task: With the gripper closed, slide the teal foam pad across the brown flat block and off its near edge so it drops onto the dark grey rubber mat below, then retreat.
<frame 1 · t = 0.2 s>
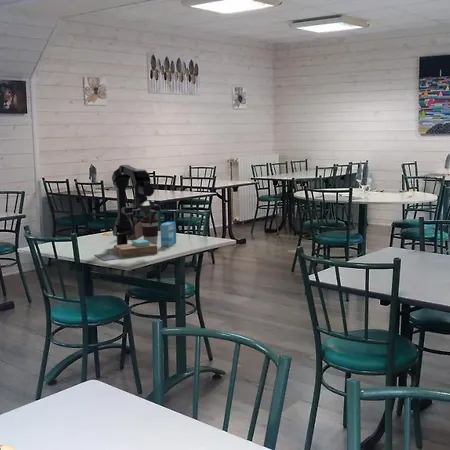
hand: (141, 226, 299), 14 cm above the table, tool pointing down, fingers open, 9 cm apart
letter holder: (132, 237, 354), on the table
brown flat block: (135, 253, 304), on the table
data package: (168, 245, 325), on the table
coffee cup: (150, 243, 332), on the table
mat: (108, 256, 298), on the table
teal foam pad: (140, 244, 305), point 4 cm above the table, touching brown flat block
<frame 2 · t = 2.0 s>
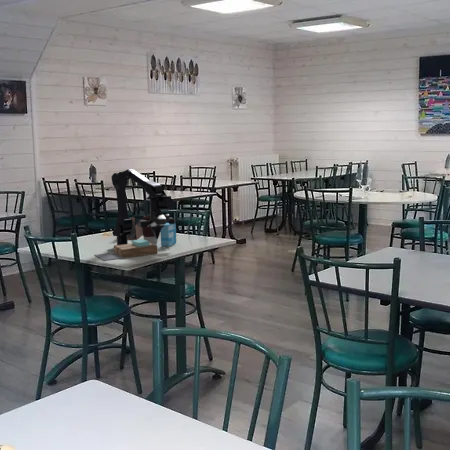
hand: (157, 238, 309), 6 cm above the table, tool pointing down, fingers closed
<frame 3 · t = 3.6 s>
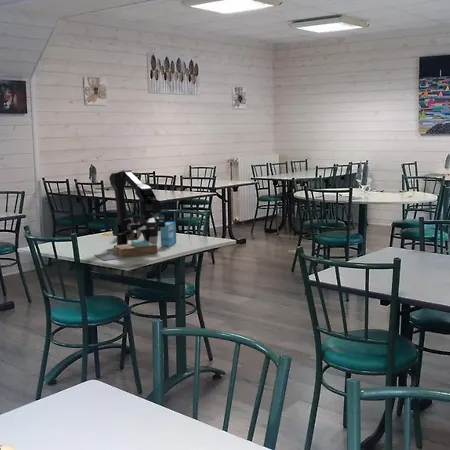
hand: (147, 242, 307), 5 cm above the table, tool pointing down, fingers closed
teal foam pad: (140, 245, 305), point 4 cm above the table, touching brown flat block, gripper
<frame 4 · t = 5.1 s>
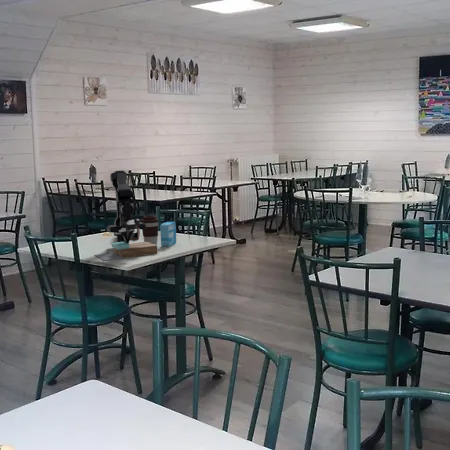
hand: (127, 244, 302), 5 cm above the table, tool pointing down, fingers closed
teal foam pad: (120, 247, 300), point 4 cm above the table, touching gripper
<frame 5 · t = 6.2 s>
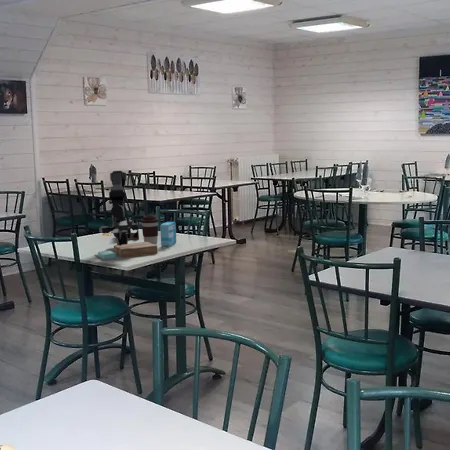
hand: (120, 245, 300), 5 cm above the table, tool pointing down, fingers closed
teal foam pad: (106, 252, 296), point 2 cm above the table, tilted 180°, touching mat
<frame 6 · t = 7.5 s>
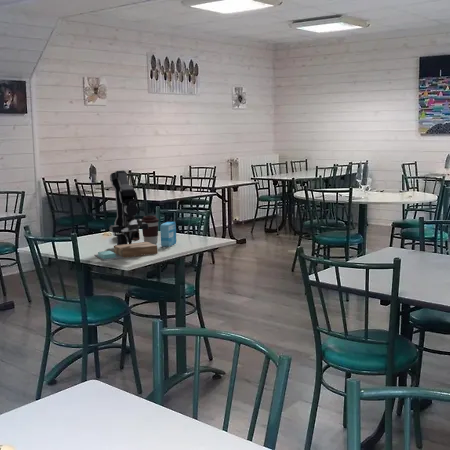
hand: (130, 244, 302), 5 cm above the table, tool pointing down, fingers closed
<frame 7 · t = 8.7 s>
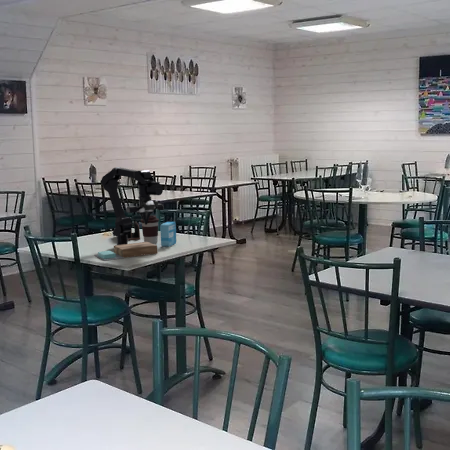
hand: (146, 224, 313), 13 cm above the table, tool pointing down, fingers closed
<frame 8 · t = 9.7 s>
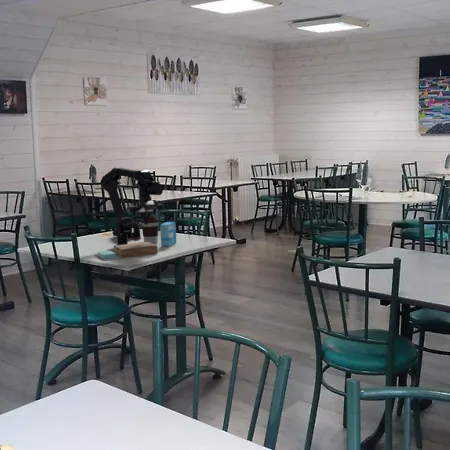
hand: (146, 224, 313), 13 cm above the table, tool pointing down, fingers closed
at the end: teal foam pad point 2.3 cm above the table; teal foam pad inside the target area on the mat (1.3 cm from its centre), point 2.3 cm above the mat's base; teal foam pad touching mat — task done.
